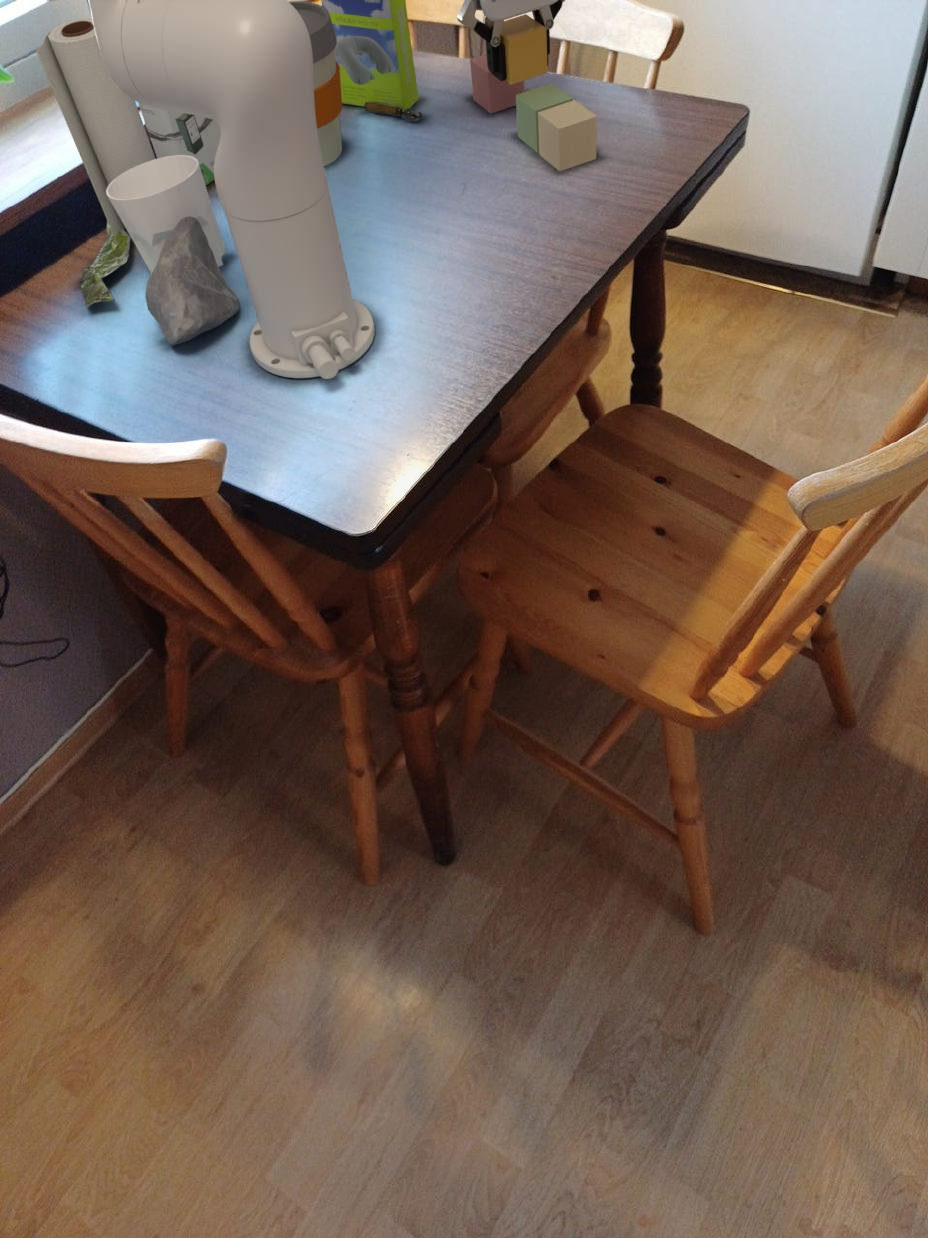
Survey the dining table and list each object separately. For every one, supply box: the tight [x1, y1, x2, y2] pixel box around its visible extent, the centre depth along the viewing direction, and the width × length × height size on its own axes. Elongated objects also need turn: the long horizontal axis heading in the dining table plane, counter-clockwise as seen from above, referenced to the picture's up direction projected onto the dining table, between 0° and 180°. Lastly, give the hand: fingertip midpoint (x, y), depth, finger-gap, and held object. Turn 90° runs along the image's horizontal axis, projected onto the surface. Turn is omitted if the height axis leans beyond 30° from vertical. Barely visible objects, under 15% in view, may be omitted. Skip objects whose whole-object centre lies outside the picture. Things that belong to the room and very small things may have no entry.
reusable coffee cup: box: [288, 0, 343, 167], centre depth 114 cm, size 13×13×15 cm
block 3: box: [538, 99, 598, 173], centre depth 111 cm, size 5×5×5 cm
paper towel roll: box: [35, 16, 157, 238], centre depth 104 cm, size 7×6×21 cm
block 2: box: [515, 82, 574, 154], centre depth 114 cm, size 5×5×5 cm
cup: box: [106, 155, 227, 275], centre depth 102 cm, size 10×10×10 cm
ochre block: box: [501, 13, 548, 85], centre depth 113 cm, size 5×5×5 cm
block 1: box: [469, 53, 525, 115], centre depth 121 cm, size 5×5×5 cm
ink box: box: [137, 102, 220, 186], centre depth 114 cm, size 9×5×12 cm, turn 146°
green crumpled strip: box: [79, 220, 132, 309], centre depth 109 cm, size 6×25×2 cm, turn 178°
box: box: [320, 0, 419, 111], centre depth 120 cm, size 10×4×17 cm, turn 63°
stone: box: [144, 216, 240, 346], centre depth 97 cm, size 12×11×10 cm
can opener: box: [363, 102, 423, 122], centre depth 123 cm, size 9×2×1 cm, turn 56°
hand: (519, 67), depth 115 cm, fingers closed on ochre block, 5 cm apart
